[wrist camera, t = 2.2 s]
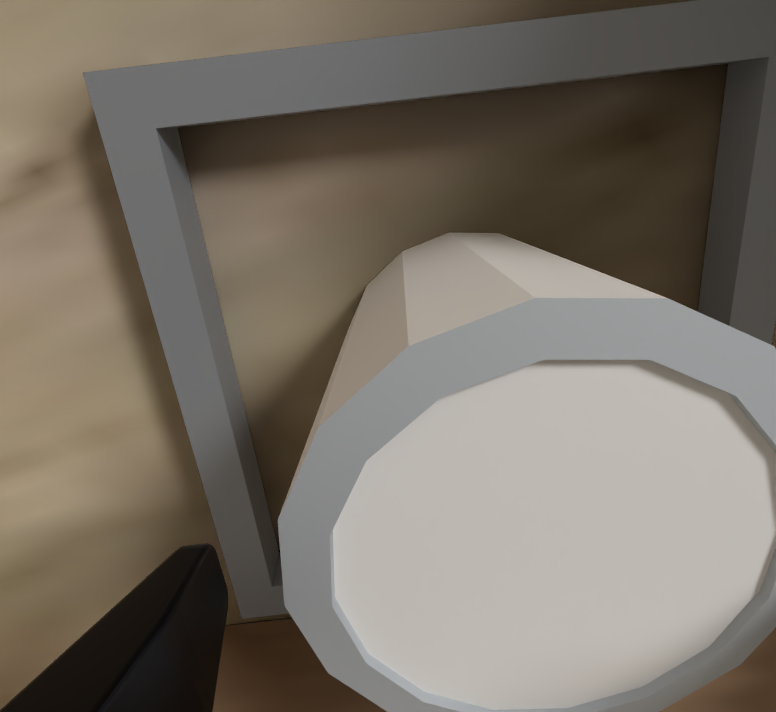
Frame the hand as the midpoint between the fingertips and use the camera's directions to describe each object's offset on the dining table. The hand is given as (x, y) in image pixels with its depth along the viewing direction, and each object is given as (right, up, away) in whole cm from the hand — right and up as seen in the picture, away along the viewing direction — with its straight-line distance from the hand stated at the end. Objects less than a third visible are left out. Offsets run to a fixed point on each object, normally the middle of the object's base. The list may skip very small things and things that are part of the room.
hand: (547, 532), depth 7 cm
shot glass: (0, +3, +6) cm, 7 cm away
